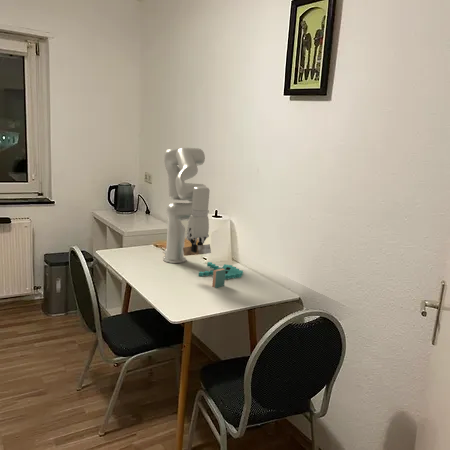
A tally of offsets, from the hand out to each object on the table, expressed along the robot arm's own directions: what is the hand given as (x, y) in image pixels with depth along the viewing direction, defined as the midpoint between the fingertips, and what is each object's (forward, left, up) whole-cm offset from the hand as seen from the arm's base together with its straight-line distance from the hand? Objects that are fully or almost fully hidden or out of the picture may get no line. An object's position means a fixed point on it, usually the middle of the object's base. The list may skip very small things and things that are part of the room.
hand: (196, 251), depth 213 cm
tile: (+11, +5, -15) cm, 19 cm away
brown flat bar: (+1, 0, -1) cm, 2 cm away
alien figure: (-2, +21, -16) cm, 26 cm away
